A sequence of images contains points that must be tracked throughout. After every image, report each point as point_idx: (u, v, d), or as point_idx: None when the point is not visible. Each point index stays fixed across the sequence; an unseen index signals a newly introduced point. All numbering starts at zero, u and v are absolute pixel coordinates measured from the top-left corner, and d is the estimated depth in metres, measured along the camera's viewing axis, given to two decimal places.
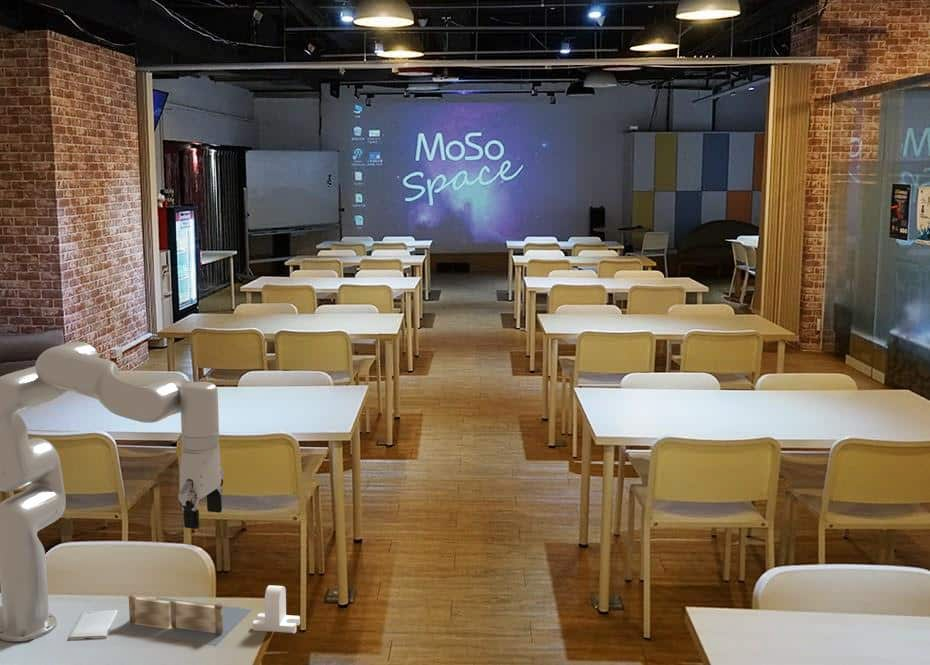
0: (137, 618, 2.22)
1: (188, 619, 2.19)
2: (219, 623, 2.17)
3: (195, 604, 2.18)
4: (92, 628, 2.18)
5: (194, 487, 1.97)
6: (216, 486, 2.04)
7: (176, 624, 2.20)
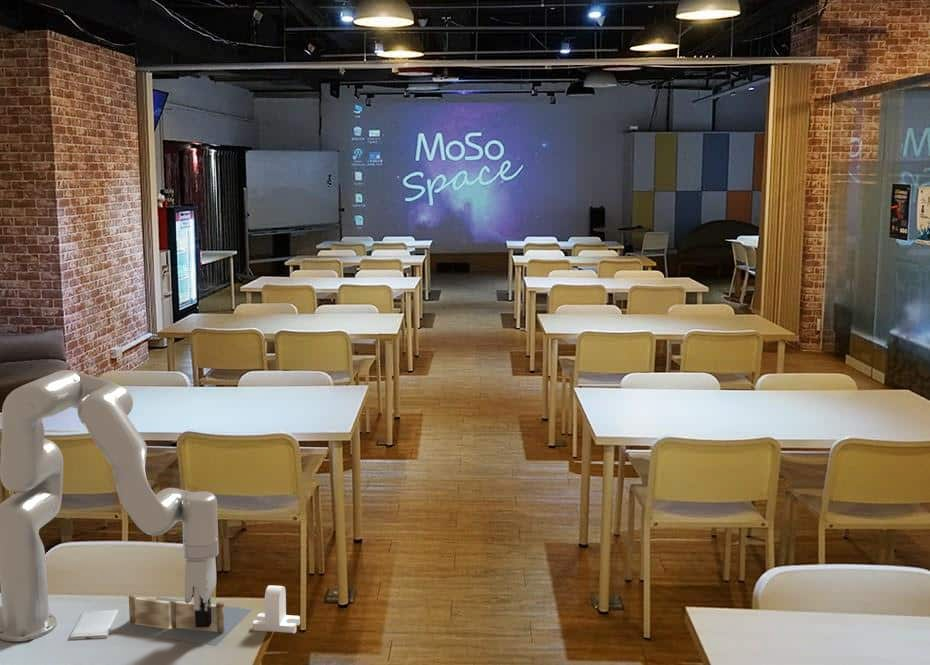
0: (137, 618, 2.22)
1: (189, 619, 2.19)
2: (221, 621, 2.18)
3: None
4: (93, 628, 2.18)
5: (201, 593, 2.09)
6: (214, 587, 2.17)
7: (176, 624, 2.20)
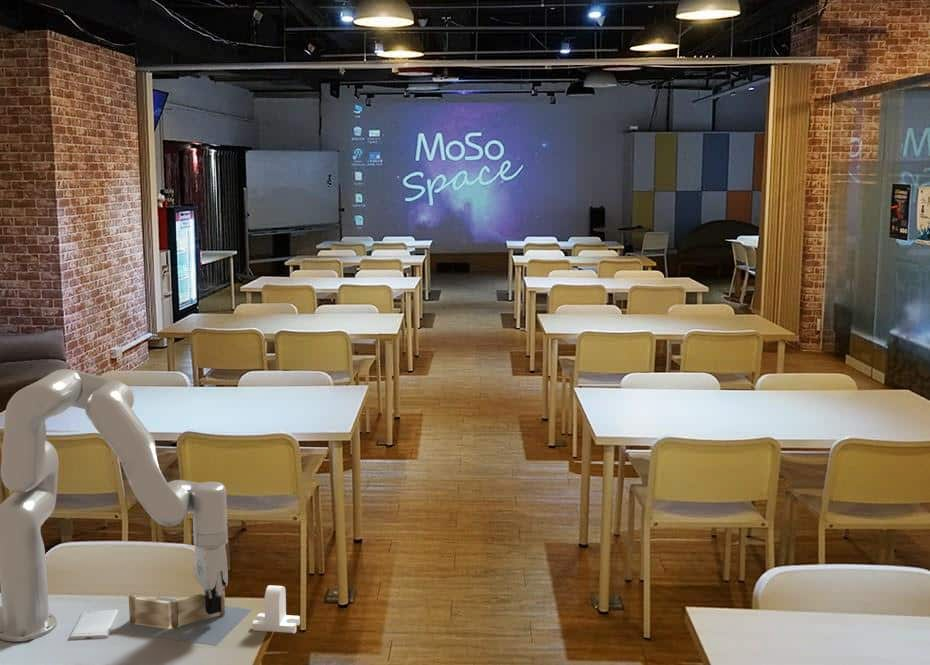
0: (137, 618, 2.22)
1: (191, 613, 2.22)
2: (224, 604, 2.26)
3: (197, 595, 2.23)
4: (93, 628, 2.18)
5: (224, 577, 2.17)
6: None
7: (178, 622, 2.21)
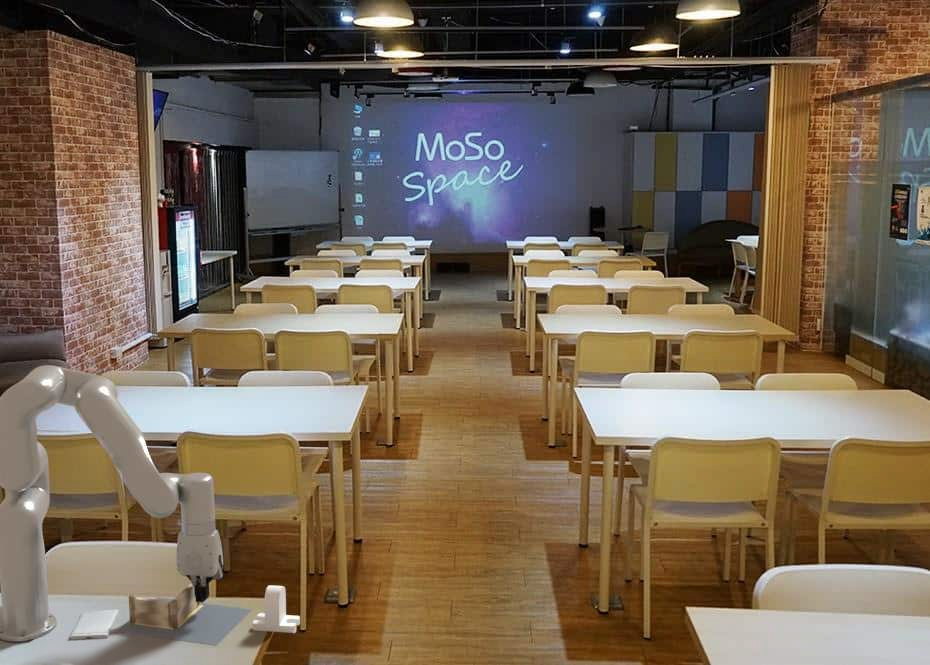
0: (137, 618, 2.22)
1: (184, 609, 2.24)
2: None
3: (184, 591, 2.25)
4: (93, 627, 2.19)
5: (222, 560, 2.26)
6: None
7: (177, 621, 2.21)
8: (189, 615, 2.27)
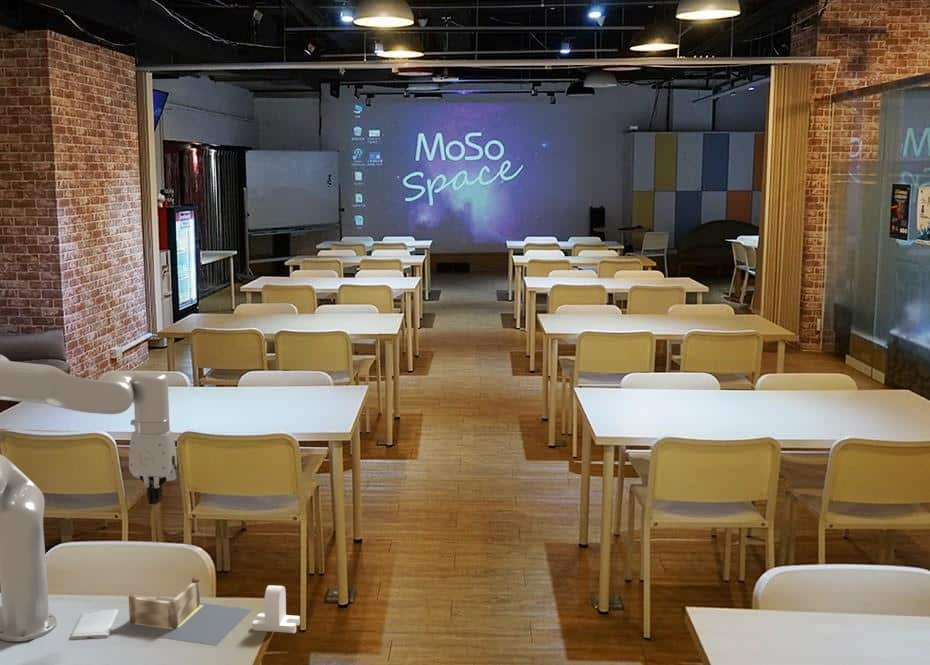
0: (137, 618, 2.22)
1: (184, 609, 2.24)
2: (199, 594, 2.31)
3: (184, 591, 2.25)
4: (94, 627, 2.19)
5: (175, 461, 2.23)
6: None
7: (177, 621, 2.21)
8: (189, 615, 2.27)
